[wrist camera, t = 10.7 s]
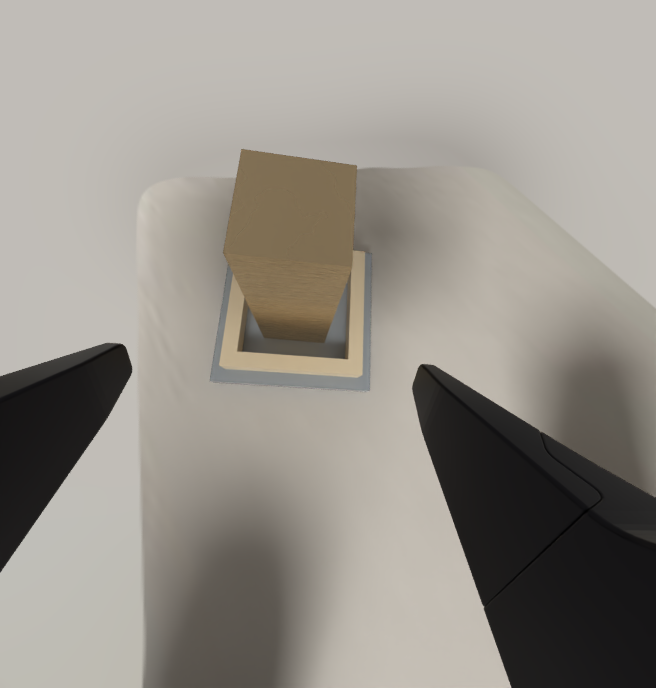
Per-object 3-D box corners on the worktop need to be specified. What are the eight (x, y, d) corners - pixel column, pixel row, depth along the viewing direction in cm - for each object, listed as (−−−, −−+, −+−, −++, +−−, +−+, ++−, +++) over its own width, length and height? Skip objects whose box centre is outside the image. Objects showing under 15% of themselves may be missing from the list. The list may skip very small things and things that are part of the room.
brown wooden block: (324, 343, 20) (352, 267, 9) (263, 337, 20) (223, 252, 9) (328, 288, 21) (357, 165, 11) (270, 282, 21) (241, 149, 10)
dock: (366, 391, 21) (375, 389, 18) (214, 382, 20) (202, 378, 17) (368, 259, 23) (376, 242, 21) (235, 246, 22) (227, 225, 20)
